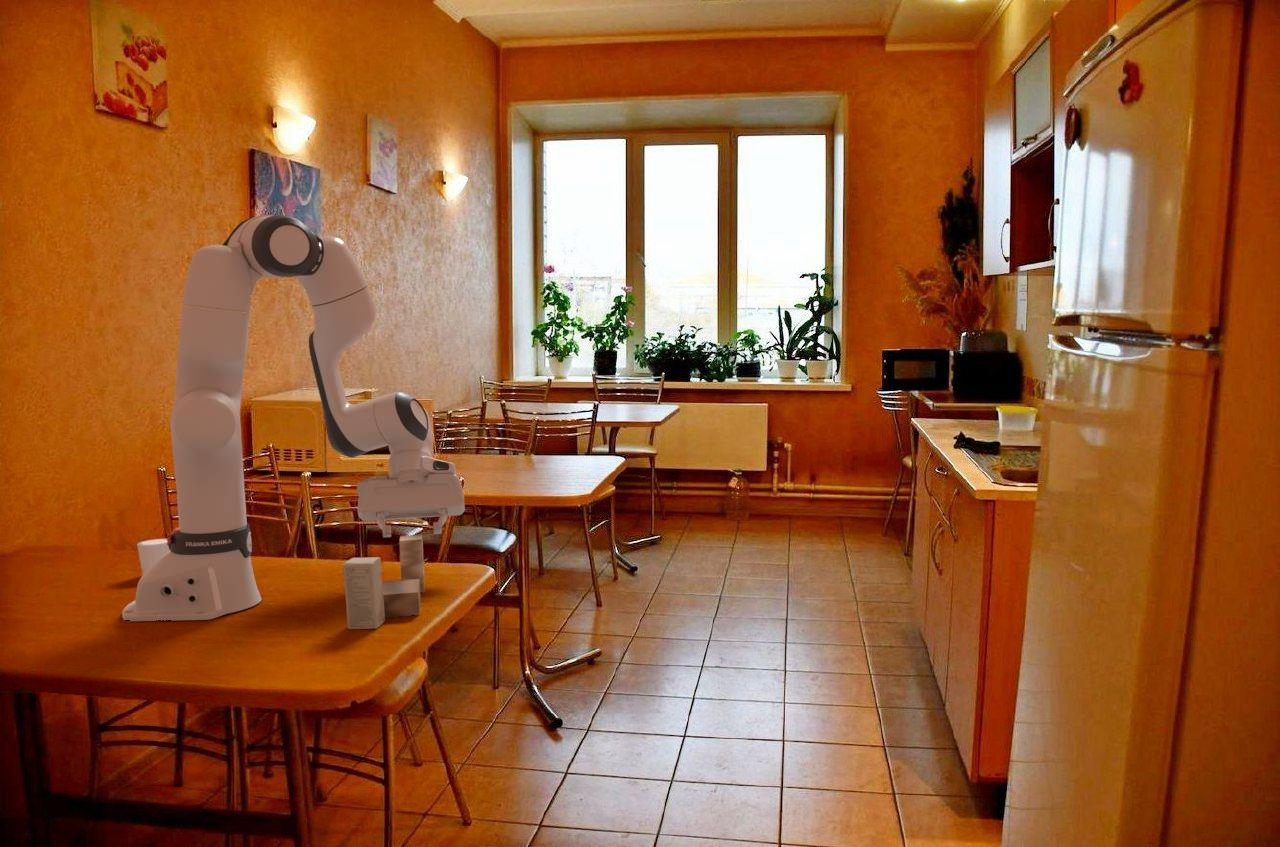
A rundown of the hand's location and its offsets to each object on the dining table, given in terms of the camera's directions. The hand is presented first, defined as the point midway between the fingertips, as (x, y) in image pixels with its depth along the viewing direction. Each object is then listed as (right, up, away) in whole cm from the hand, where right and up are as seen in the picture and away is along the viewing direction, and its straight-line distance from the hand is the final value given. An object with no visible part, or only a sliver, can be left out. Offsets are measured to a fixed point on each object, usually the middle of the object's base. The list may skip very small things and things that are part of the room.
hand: (412, 534), depth 190 cm
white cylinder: (-54, -10, +11) cm, 56 cm away
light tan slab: (0, -11, -16) cm, 20 cm away
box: (-2, -13, -24) cm, 28 cm away
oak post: (+1, -10, -4) cm, 11 cm away
